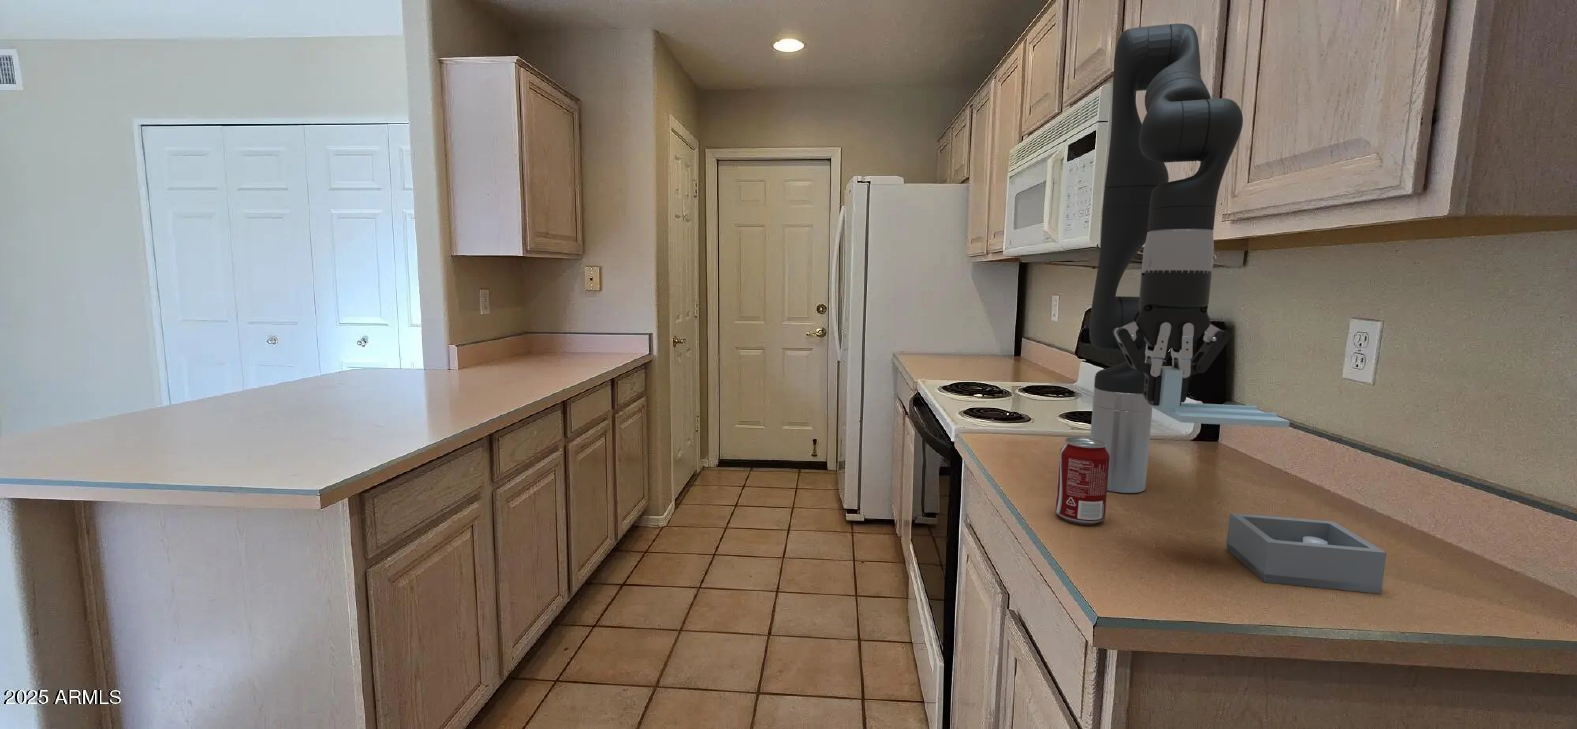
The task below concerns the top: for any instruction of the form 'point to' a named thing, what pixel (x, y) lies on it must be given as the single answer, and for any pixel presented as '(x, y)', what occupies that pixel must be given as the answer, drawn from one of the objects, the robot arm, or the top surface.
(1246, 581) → the top surface
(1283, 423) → the lid
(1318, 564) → the grey shallow tray
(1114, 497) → the top surface
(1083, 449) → the soda can
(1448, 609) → the top surface
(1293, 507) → the top surface
